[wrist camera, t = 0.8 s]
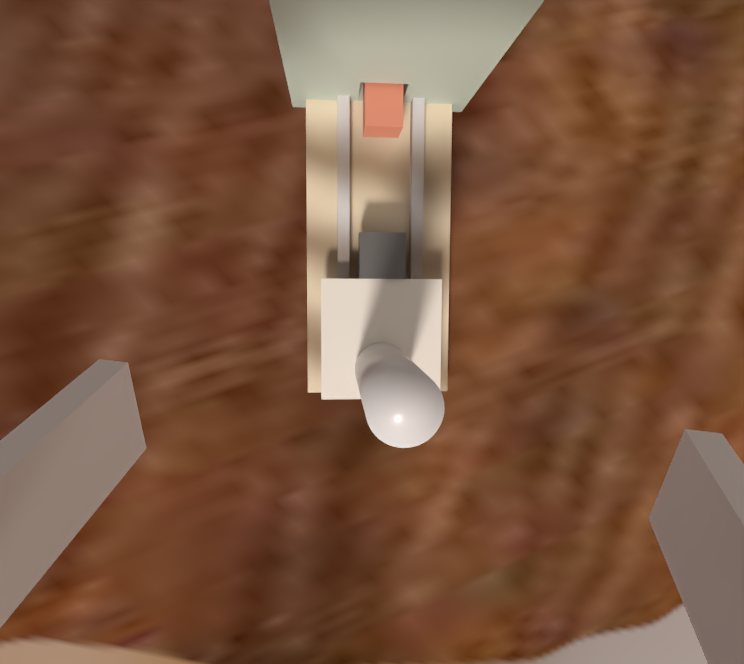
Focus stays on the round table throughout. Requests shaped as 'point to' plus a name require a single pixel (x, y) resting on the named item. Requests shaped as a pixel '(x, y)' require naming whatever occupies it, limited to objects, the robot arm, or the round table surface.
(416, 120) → the rail track
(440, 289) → the carriage
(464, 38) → the gauge cabinet
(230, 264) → the round table surface
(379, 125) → the block
